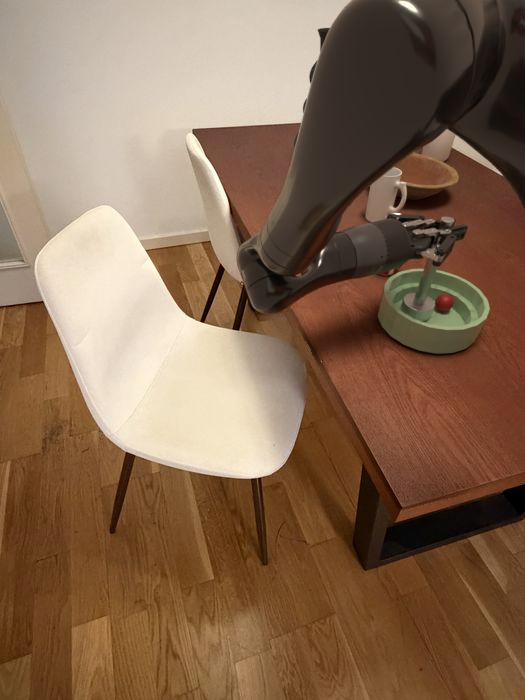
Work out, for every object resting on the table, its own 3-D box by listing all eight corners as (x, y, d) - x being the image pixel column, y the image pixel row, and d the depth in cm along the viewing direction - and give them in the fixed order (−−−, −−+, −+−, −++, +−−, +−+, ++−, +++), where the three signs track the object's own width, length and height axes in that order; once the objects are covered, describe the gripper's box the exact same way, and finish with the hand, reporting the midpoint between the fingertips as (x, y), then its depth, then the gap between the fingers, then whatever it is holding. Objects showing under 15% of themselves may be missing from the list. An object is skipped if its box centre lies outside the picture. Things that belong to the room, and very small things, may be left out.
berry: (454, 309, 76) (459, 296, 74) (444, 317, 75) (449, 303, 72) (439, 301, 78) (444, 288, 76) (429, 309, 76) (434, 295, 74)
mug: (358, 217, 105) (367, 170, 96) (375, 210, 108) (385, 163, 99) (389, 232, 99) (401, 183, 91) (406, 223, 102) (419, 176, 94)
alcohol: (453, 161, 134) (488, 50, 113) (429, 163, 132) (460, 51, 111) (438, 152, 140) (470, 45, 119) (416, 154, 138) (443, 46, 117)
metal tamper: (437, 313, 75) (474, 220, 62) (419, 325, 72) (454, 231, 59) (412, 299, 78) (442, 207, 65) (394, 310, 75) (421, 217, 62)
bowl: (414, 220, 103) (423, 189, 98) (349, 189, 117) (353, 161, 112) (468, 197, 113) (479, 168, 108) (402, 171, 127) (408, 144, 122)
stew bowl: (494, 327, 74) (508, 300, 69) (439, 371, 66) (452, 345, 61) (414, 283, 83) (422, 258, 79) (357, 317, 75) (363, 292, 71)
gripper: (405, 249, 52) (502, 224, 57) (347, 206, 61) (435, 187, 66) (391, 295, 57) (482, 268, 63) (340, 250, 66) (422, 229, 72)
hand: (457, 227), depth 64 cm, fingers closed on metal tamper
